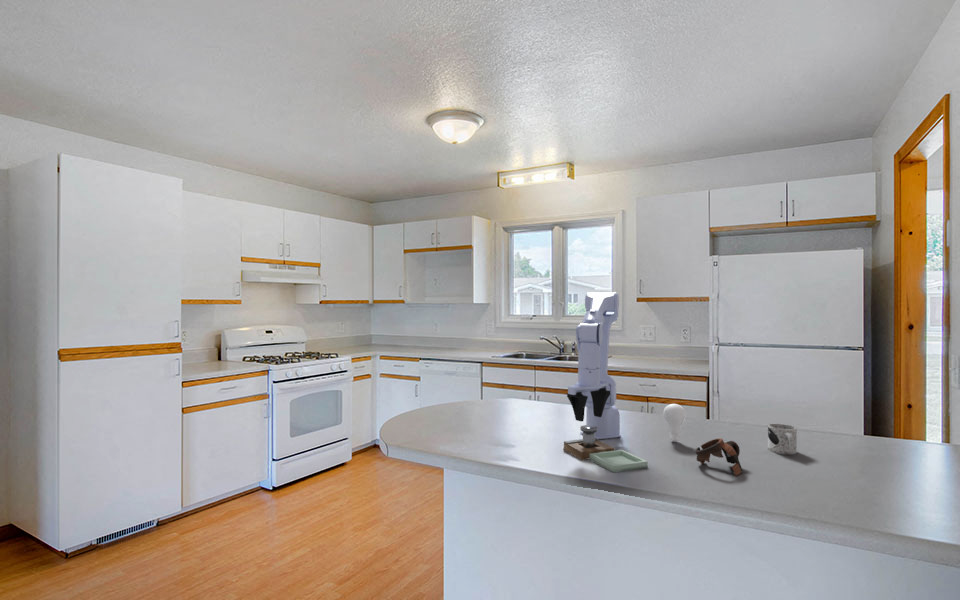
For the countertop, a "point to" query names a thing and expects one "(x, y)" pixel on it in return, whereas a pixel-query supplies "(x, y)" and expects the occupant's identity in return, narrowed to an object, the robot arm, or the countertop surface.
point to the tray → (618, 460)
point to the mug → (782, 439)
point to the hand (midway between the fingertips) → (588, 418)
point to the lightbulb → (674, 420)
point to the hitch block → (584, 453)
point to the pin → (588, 435)
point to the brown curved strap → (720, 453)
